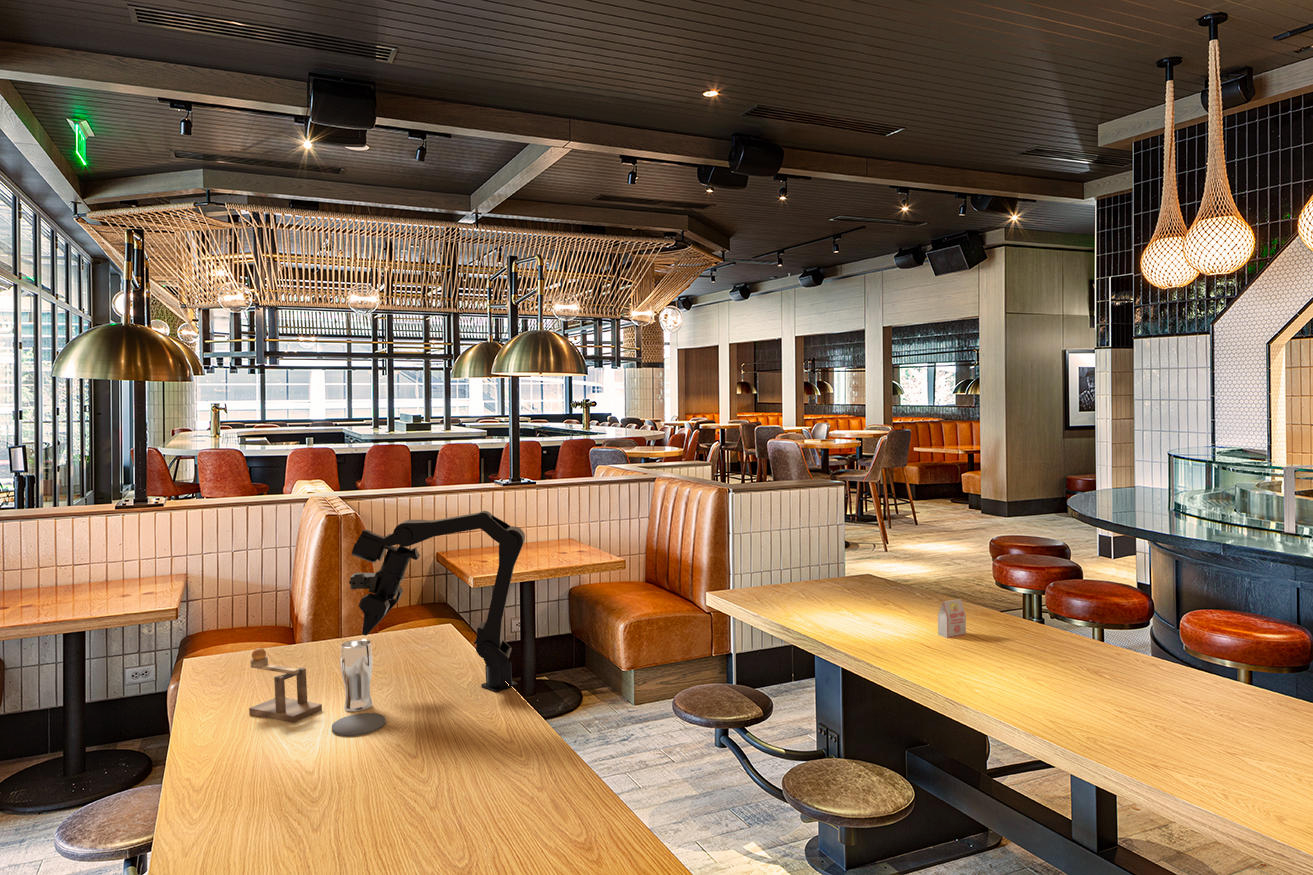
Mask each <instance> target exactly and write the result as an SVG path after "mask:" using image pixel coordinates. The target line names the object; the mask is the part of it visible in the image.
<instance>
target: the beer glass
mask: <svg viewBox="0 0 1313 875" xmlns="http://www.w3.org/2000/svg"><path fill="white" fill-rule="evenodd" d="M372 651H373V650H372V642H371V640H369V639H365V638H363V639H362V638H361V639H360V638H359V639H353V640H346V641H345V642H342V643H341V644H340V655H339V656H340V659H339V660H340V671H341V676H342V682H343V684H344V690H345V691H344V692H345V701H344V710H345V711H347V712H350V713H354V712H355V713H356V712H362V711H366V710H368V709H370V708H372V707H373V701H372V698H371V696H372V695H371V681H372V673H373V652H372Z"/></svg>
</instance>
